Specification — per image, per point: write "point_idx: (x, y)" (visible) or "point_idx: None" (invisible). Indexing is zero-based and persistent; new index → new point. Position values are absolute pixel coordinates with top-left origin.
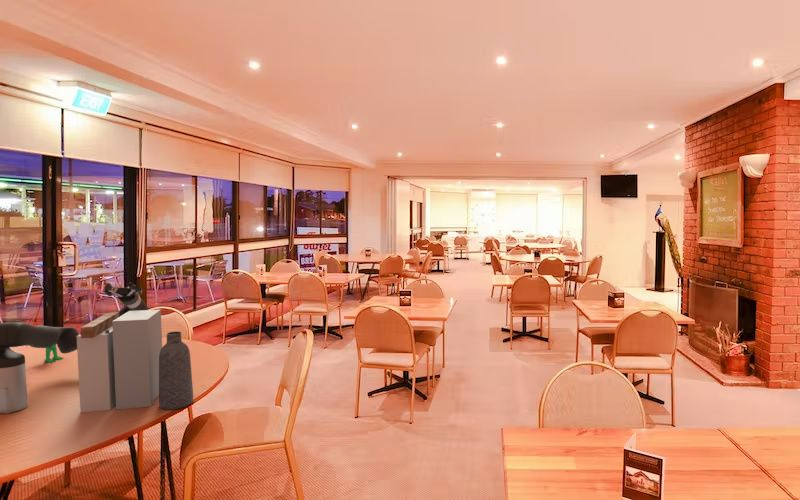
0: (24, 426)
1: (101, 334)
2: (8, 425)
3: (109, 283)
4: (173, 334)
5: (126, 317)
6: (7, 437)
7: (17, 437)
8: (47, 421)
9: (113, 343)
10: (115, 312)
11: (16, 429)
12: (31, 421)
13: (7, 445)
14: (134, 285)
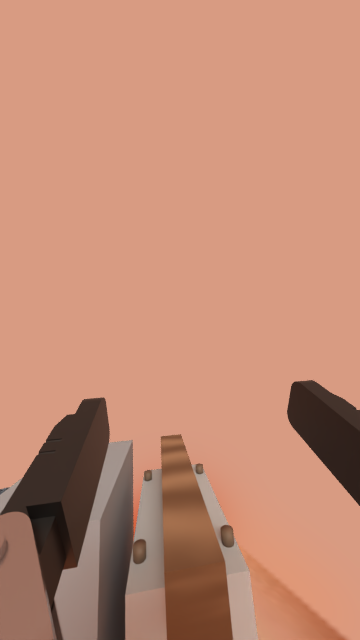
0: (279, 608)
1: (156, 471)
2: (316, 616)
3: (302, 390)
4: (6, 488)
5: (106, 455)
6: (262, 567)
7: (248, 566)
8: (257, 633)
9: (132, 496)
10: (180, 556)
11: (279, 595)
12: (291, 636)
13: (239, 546)
14: (13, 497)
